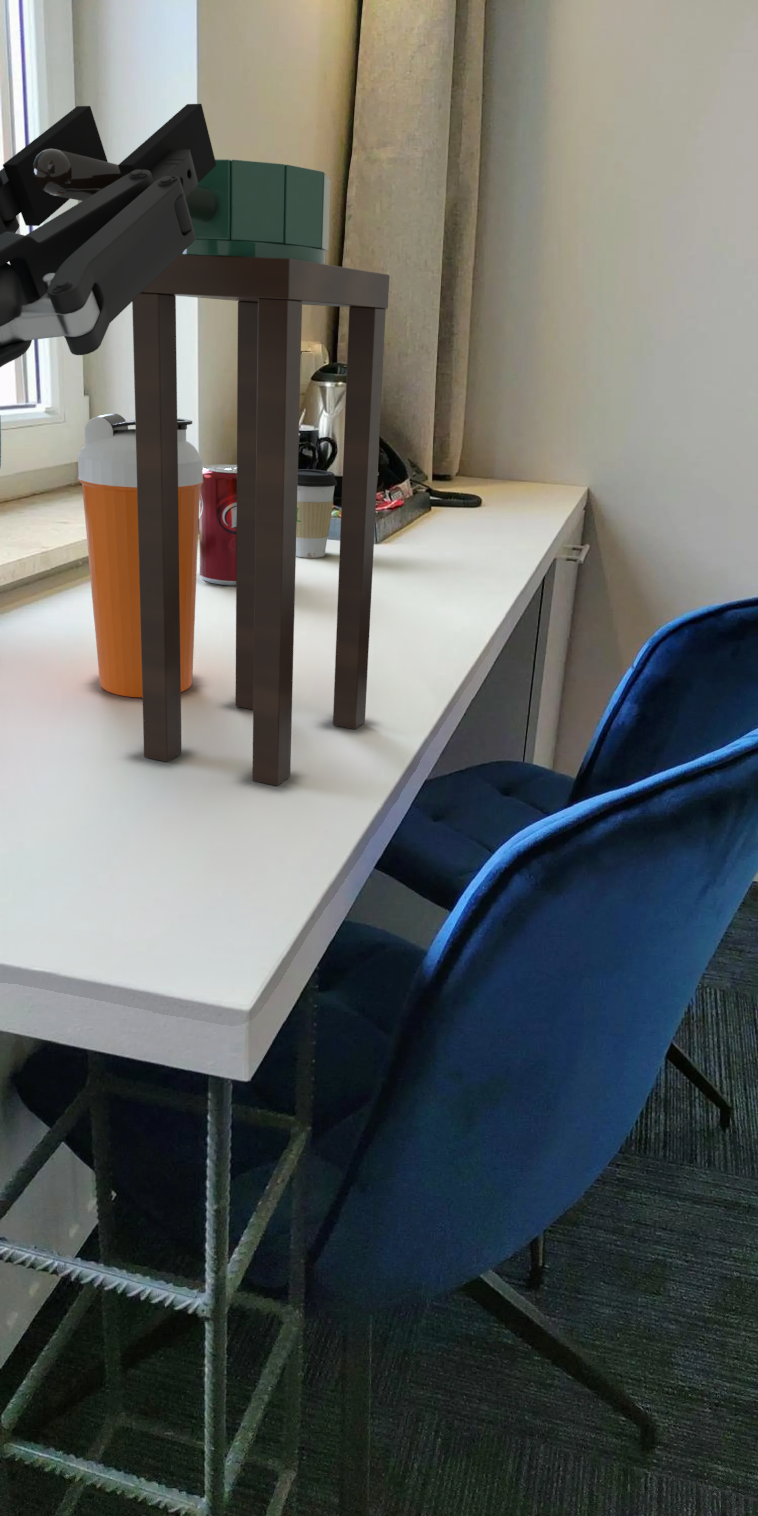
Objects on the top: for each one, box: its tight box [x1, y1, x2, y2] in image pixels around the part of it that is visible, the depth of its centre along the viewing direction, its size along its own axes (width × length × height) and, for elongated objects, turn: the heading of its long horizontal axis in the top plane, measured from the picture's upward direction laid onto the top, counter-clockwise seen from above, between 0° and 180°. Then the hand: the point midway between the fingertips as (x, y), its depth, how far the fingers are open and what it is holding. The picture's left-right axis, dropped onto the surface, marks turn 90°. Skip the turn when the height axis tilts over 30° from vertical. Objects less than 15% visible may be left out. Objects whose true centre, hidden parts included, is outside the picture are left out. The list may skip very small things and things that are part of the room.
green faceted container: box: [33, 149, 331, 264], centre depth 57 cm, size 22×9×5 cm, turn 157°
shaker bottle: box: [77, 412, 204, 699], centre depth 83 cm, size 9×9×20 cm
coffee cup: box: [296, 468, 338, 559], centre depth 137 cm, size 7×7×10 cm
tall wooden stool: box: [131, 255, 390, 787], centre depth 71 cm, size 14×10×30 cm
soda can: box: [198, 463, 237, 587], centre depth 121 cm, size 7×7×12 cm
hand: (146, 135), depth 53 cm, fingers open, 5 cm apart
